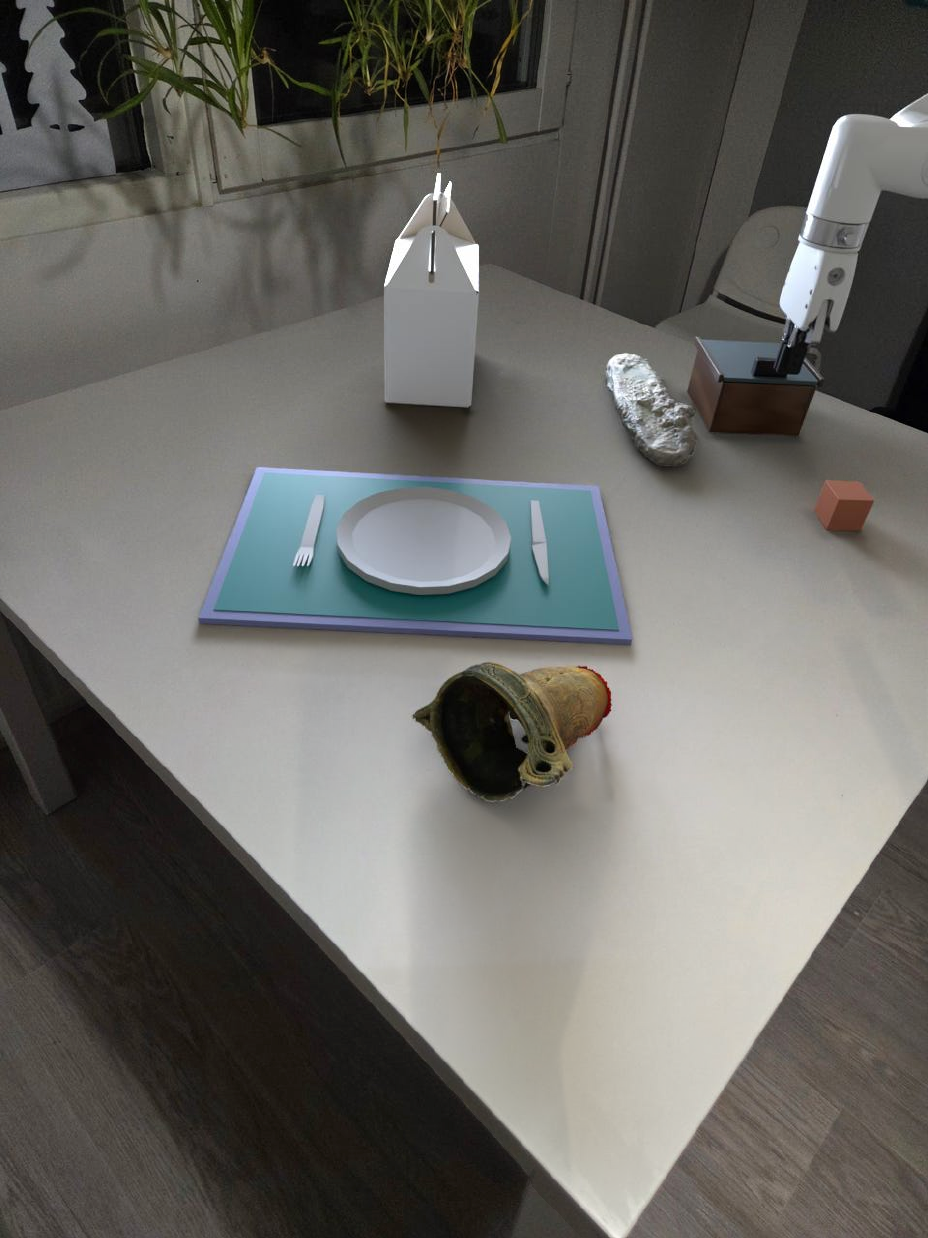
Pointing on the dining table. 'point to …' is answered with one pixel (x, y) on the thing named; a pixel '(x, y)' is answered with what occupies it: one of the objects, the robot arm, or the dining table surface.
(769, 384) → the brown storage box
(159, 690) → the dining table surface
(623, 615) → the place mat
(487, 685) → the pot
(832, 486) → the block
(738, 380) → the knobbed box lid
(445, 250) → the gable box
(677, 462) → the elongated rock
